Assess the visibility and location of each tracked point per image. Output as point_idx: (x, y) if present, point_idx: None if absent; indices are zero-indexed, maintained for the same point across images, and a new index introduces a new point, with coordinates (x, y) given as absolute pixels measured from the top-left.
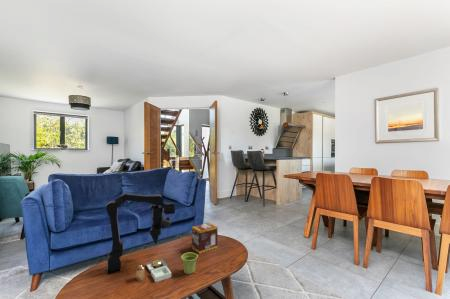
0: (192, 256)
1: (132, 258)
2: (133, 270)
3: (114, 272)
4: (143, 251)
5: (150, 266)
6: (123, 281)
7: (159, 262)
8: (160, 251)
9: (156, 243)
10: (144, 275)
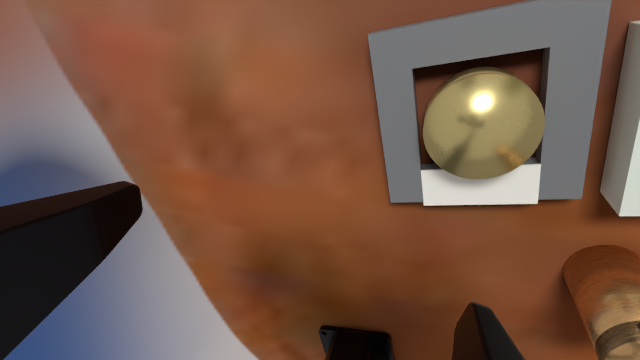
0: None
1: (236, 246)
2: (421, 277)
3: (394, 358)
4: (141, 165)
5: (474, 183)
6: (547, 351)
7: (517, 107)
8: (149, 24)
9: (487, 314)
10: (629, 262)
